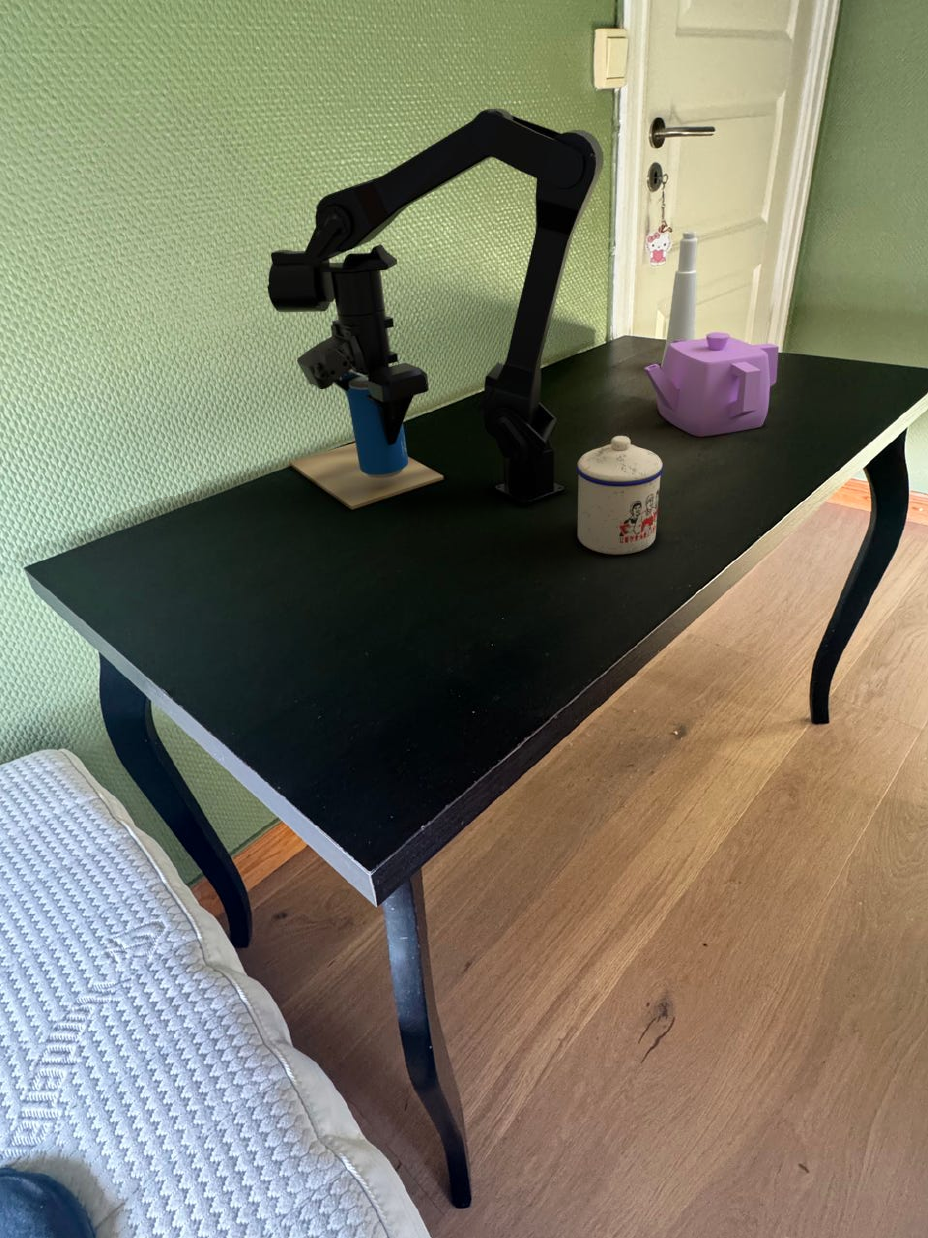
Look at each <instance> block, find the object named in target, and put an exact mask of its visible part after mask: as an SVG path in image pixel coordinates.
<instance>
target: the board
mask: <svg viewBox="0 0 928 1238" xmlns="http://www.w3.org/2000/svg"><path fill="white" fill-rule="evenodd" d="M288 464H289V466H290V467H292V468H293V470H296V471H297V472H298V473H300V474H301V475H302V476H304V477H305V478H306V479H308V480H310V481H311V482H312V483H313V484H315V485H317V487H319V488H321V489H322V490H323V491H324V492H326V493H328V494H329V495H330V496H332V497H333V498H335V499H336V500H338V501H339V502H340V503H342V504H343V505H345V506H346V507H347V508H348V509H350V510H355V509H359V508H361V507H364V506H367V505H370V504H373V503H376V502H377V503H378V502H379V501H383V500H387V499H388V498H392V497H395V496H397V495H401V494H403V493H406V492H409V491H412V490H415V489H418V488H421V487H425V486H428V485H431V484H434V483H437V482H440V481H442V480H444V479H445V478H444V475H442V474H440V473H439V472H437V471H435V470H434V469H432V468H430V467H427V466H426V465H424V464H422V463H420V462H419V461H417V460H415V459H414V458H411V457H410V456H408V465H407V466H406V467H405V468H404V469H403V471H402V472H401V473H399V474H397V475H395V476H392V477H387V478H373V477H370V476H368V475H367V474H365V473H363V472H362V471H361V470H360V466H359V460H358V455H357V449H356V443H355V442H353V443H350V444H346V445H343V446H340V447H336V448H333V449H329V450H326V451H325V450H324V451H323V452H319V453H316V454H315V453H314V454H312V455H309V456H306V457H301V458H298V459H295V460H291V461H289V462H288Z"/></svg>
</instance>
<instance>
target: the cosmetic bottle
mask: <svg viewBox="0 0 928 1238" xmlns="http://www.w3.org/2000/svg"><path fill="white" fill-rule="evenodd" d="M697 233H698V232H696V231H684V232H682V238H681V239H680V241H679V242H680V243H679V254H678V265H677V266H678V267H677V270H675V273H674V279H673V287H672V295H671V302H670V303H671V304H670V310H669V311H670V313H669V320H668V327H667V335H666V340H665V346H664V351H663V356H662V360H661V364H660V368H661V369H662V365H663V361H664V358H665V354H666V351H667V348H668V345H669V344H671V343H673V340H680V339H684V340H687V341H690V340H695V332H696V331H695V328H696V307H697V289H698V288H697V287H698V270H697V269H696V265H697V264H696V262H697V255H698V254H697V252H698V241H699V240H698V238H697V235H698V234H697Z"/></svg>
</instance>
